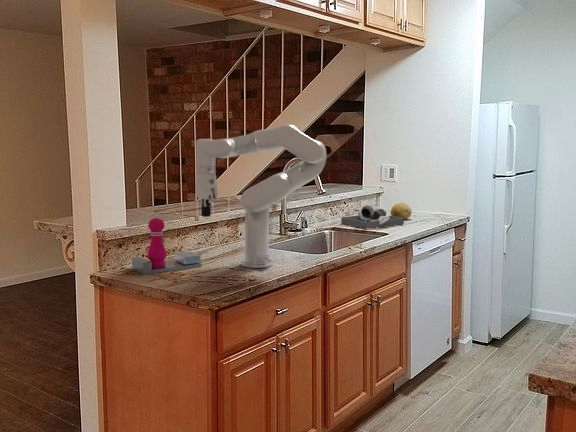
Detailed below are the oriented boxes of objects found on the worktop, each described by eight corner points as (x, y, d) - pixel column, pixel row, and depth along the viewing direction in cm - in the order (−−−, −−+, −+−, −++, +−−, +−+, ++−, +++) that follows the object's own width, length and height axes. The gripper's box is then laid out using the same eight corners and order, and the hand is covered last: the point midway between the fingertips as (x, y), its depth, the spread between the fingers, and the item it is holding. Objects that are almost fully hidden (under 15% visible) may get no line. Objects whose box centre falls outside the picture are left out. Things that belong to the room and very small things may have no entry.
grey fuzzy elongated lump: (353, 220, 347) (353, 203, 345) (367, 219, 351) (368, 203, 350) (377, 228, 325) (378, 210, 323) (392, 227, 329) (393, 209, 327)
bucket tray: (403, 225, 339) (404, 218, 338) (366, 229, 322) (366, 222, 322) (377, 220, 356) (378, 213, 355) (341, 224, 339) (341, 217, 339)
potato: (395, 217, 369) (395, 201, 367) (413, 219, 361) (414, 203, 359) (387, 219, 361) (387, 202, 359) (405, 221, 353) (406, 204, 351)
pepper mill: (158, 262, 232) (157, 212, 229) (170, 265, 227) (169, 214, 224) (143, 266, 226) (142, 214, 223) (155, 269, 221) (154, 216, 219)
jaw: (200, 262, 232) (200, 255, 232) (184, 264, 228) (184, 257, 228) (190, 258, 239) (190, 251, 239) (174, 260, 235) (174, 253, 235)
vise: (201, 266, 232) (201, 255, 231) (143, 274, 218) (142, 263, 217) (189, 261, 241) (189, 250, 240) (132, 268, 227) (131, 257, 226)
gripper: (223, 171, 230) (223, 218, 232) (205, 168, 242) (205, 213, 244) (206, 172, 225) (206, 219, 228) (188, 169, 237) (189, 214, 240)
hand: (206, 216), depth 236 cm, fingers closed
